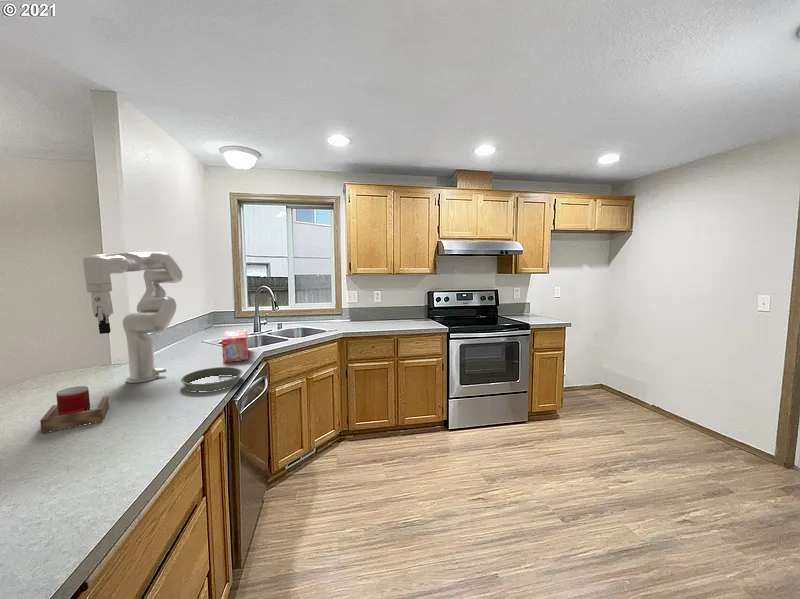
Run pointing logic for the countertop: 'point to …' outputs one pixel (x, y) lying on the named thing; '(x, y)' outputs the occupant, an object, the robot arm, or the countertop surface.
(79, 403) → the canned food
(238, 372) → the cake pan
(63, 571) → the countertop surface
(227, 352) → the box
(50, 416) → the walnut holder
